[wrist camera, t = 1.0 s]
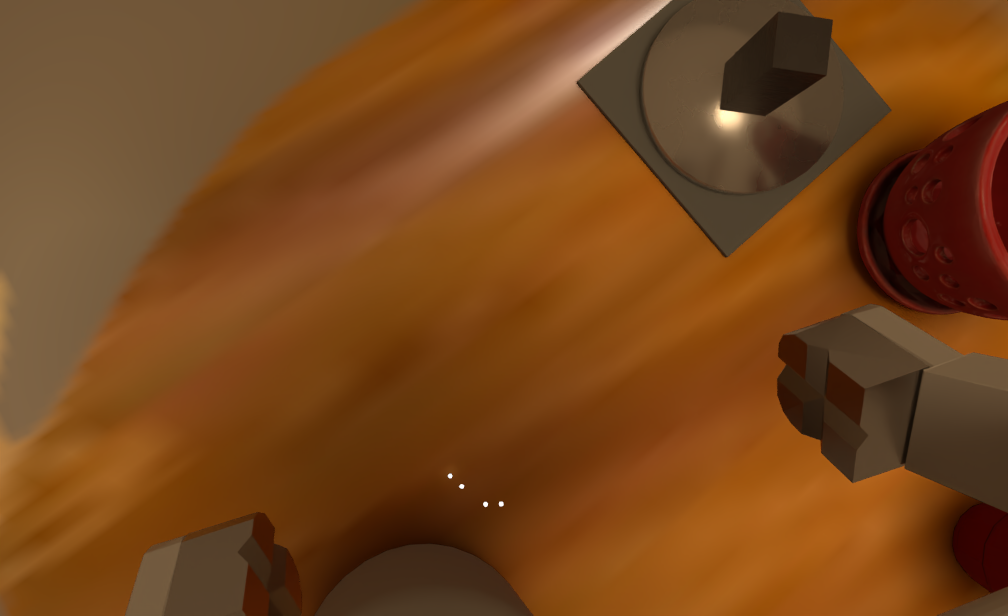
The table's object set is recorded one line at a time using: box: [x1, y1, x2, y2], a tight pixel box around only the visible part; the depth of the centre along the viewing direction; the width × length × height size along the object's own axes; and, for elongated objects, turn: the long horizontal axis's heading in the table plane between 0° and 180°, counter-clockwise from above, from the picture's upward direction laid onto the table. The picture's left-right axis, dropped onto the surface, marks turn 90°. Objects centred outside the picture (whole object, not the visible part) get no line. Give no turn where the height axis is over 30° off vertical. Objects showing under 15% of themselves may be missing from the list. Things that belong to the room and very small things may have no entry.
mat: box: [577, 0, 891, 257], centre depth 44 cm, size 16×16×1 cm
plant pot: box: [857, 101, 1008, 320], centre depth 39 cm, size 13×13×12 cm
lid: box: [639, 0, 844, 196], centre depth 39 cm, size 14×14×8 cm
